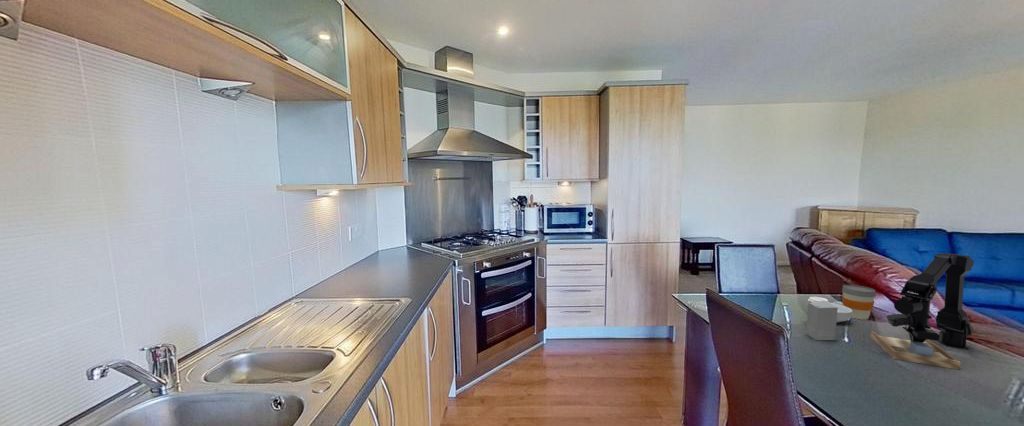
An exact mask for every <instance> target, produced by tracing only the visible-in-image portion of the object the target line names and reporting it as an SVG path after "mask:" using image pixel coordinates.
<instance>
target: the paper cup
mask: <svg viewBox="0 0 1024 426" xmlns="http://www.w3.org/2000/svg"><path fill="white" fill-rule="evenodd" d="M807 301H808V302H827V303H830V302H829V300H828V299H827V298H824V297H820V296H809V298H808V299H807Z"/></svg>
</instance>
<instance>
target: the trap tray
mask: <svg viewBox="0 0 1024 426" xmlns="http://www.w3.org/2000/svg"><path fill="white" fill-rule="evenodd" d="M870 338H871V340H872V341H874V342H875V343H876V344H877V345H878V346H879V347H880V348H881V349H882V350H883V351H884V352H885V353H886V354H888V355H889V356H890V357H891V358H892V359H893V360H898V361H906V362H910V363H918V364H924V365H929V366H936V367H941V368H942V367H943V368H947V369H954V370H961V361H960V360H959V359H957V358H956V357H954V355H951V354H950V353H949V352H948V351H945V350H944V349H943V348H942V347H940V346H939V345H937V344H936V343H934V342H933V340H928V339H926V340H925V341H924V342H923V343H927V344H928V345H929V346H931V347H932V348H933V353H932V356H925V355H919V354H912V353H910V339H905V338H898V337H891V336H883V335H879V334H877V332H875V331H874V330H873V331H870Z"/></svg>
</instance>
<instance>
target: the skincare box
mask: <svg viewBox="0 0 1024 426" xmlns="http://www.w3.org/2000/svg"><path fill="white" fill-rule="evenodd" d="M830 303H831V302H829V303H827V302H809V301H808V303H807V304H808V306H807V320H806V333H805V334H806V335H807V337H810V338H812V339H813V340H815V341H836V333H837V331H836V330H837V323H838V322H837V310H838V308H837V307H836V306H834V305H832V304H830Z"/></svg>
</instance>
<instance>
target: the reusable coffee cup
mask: <svg viewBox="0 0 1024 426" xmlns="http://www.w3.org/2000/svg"><path fill="white" fill-rule="evenodd" d="M841 292H842V296H841V301H842V306H846V307H848V308H850V309H851V310H852V311H853V312H852V316H851V318H852V319H858V320H869V318H870V315H871V311H872V310H873V307H874V305H875V297H876V290H875V289H874V288H872V287H867V286H863V285H855V284H844V285H842V288H841Z"/></svg>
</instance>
